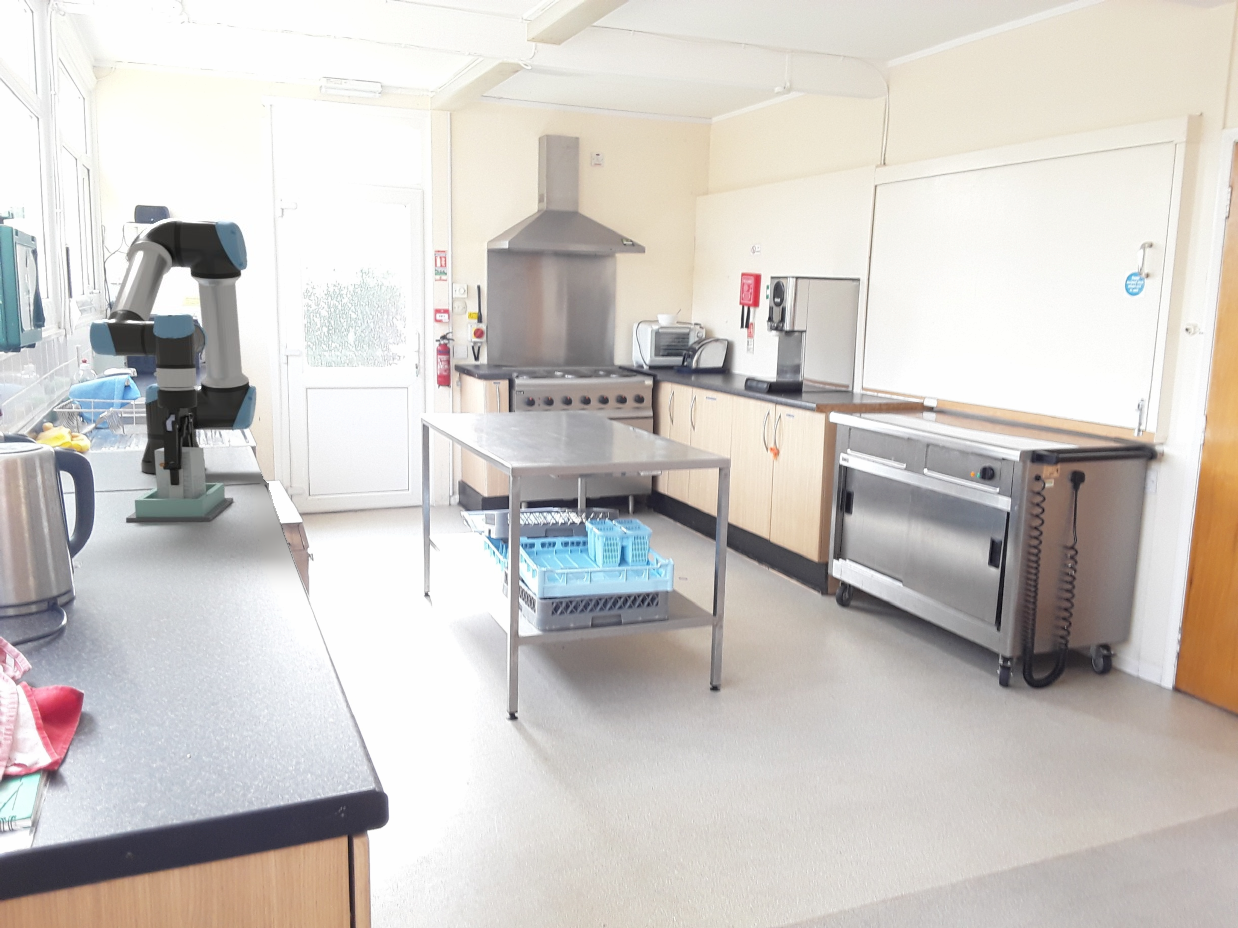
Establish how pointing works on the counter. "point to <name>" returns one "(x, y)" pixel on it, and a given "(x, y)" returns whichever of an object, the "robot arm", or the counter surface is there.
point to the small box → (191, 473)
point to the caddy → (180, 506)
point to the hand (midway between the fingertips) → (182, 496)
